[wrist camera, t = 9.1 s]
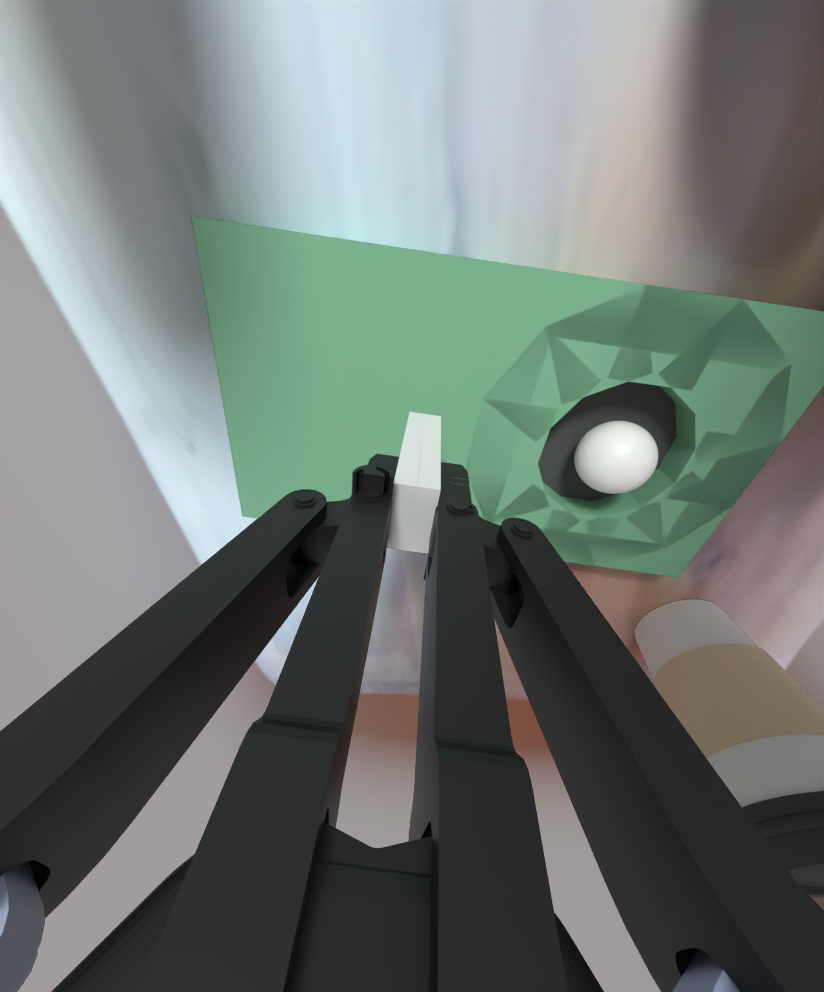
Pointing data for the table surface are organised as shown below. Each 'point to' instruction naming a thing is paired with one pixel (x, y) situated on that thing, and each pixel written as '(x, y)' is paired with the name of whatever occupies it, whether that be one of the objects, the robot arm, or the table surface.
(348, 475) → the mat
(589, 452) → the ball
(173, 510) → the table surface
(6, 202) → the table surface
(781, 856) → the coffee cup
